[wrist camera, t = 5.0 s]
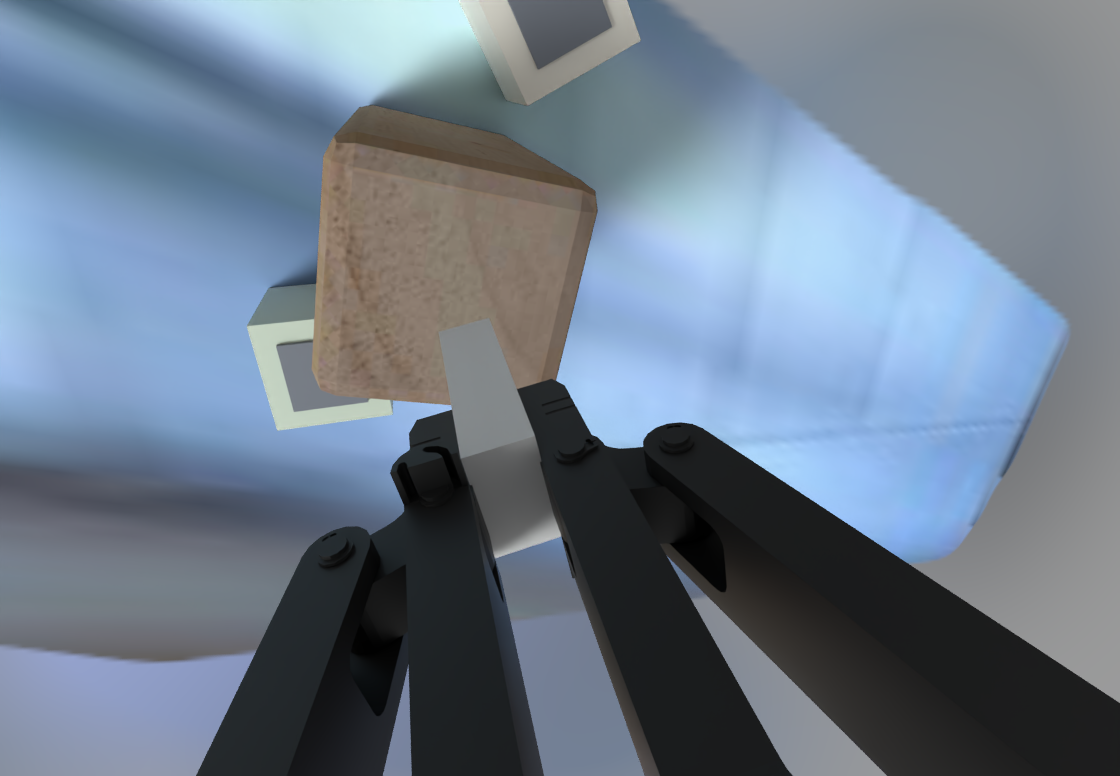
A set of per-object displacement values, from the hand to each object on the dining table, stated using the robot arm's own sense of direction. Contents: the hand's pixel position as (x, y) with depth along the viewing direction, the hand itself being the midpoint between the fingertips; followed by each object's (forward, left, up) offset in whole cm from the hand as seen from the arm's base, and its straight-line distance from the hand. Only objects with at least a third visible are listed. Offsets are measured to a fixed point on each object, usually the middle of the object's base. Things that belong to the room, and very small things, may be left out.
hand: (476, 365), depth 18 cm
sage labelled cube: (+7, -9, -26) cm, 28 cm away
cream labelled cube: (-9, +9, -26) cm, 29 cm away
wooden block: (0, 0, -26) cm, 26 cm away
